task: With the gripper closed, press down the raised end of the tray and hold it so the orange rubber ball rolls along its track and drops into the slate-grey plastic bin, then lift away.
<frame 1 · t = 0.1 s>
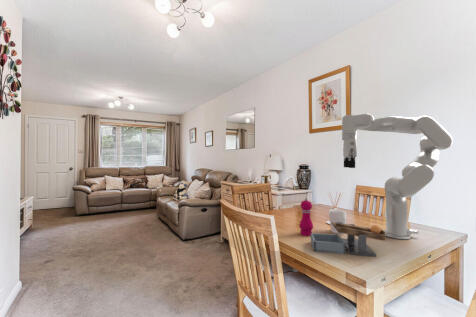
hand: (349, 167, 128), 37 cm above the table, tool pointing down, fingers open, 9 cm apart
tray: (356, 227, 106), point 9 cm above the table, hinge at -7.0°, touching ball
cup: (337, 232, 129), on the table
bin: (326, 247, 105), on the table
pepper mill: (306, 234, 125), on the table
ball: (375, 229, 101), point 10 cm above the table, tilted 14°, touching tray
stand: (356, 247, 106), on the table
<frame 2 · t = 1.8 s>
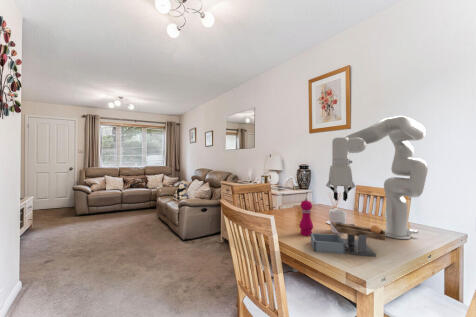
hand: (340, 200, 111), 21 cm above the table, tool pointing down, fingers open, 3 cm apart
nothing on the table moved.
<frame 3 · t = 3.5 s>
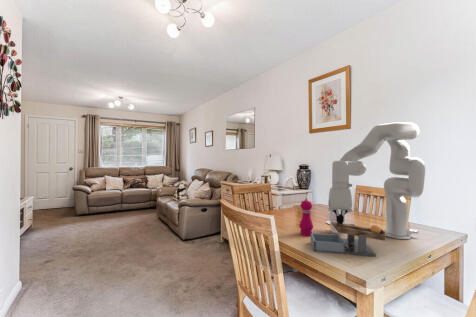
hand: (339, 223, 111), 10 cm above the table, tool pointing down, fingers closed
tray: (356, 227, 106), point 9 cm above the table, hinge at -6.6°, touching ball, gripper
everything else where it was.
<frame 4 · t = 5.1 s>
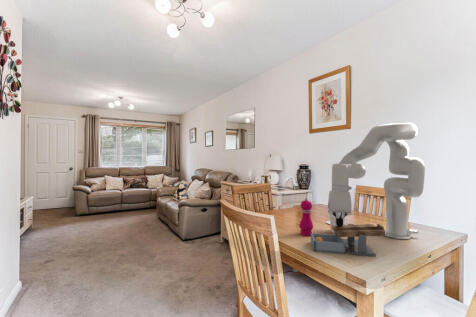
hand: (339, 226, 111), 8 cm above the table, tool pointing down, fingers closed
tray: (356, 227, 106), point 9 cm above the table, hinge at 5.6°, touching gripper
ball: (318, 241, 106), point 3 cm above the table, tilted 29°, touching bin
everything else where it was.
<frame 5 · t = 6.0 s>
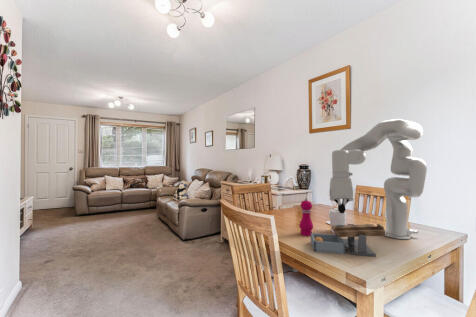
hand: (341, 212, 111), 15 cm above the table, tool pointing down, fingers closed
tray: (356, 227, 106), point 9 cm above the table, hinge at 5.6°
everything else where it was.
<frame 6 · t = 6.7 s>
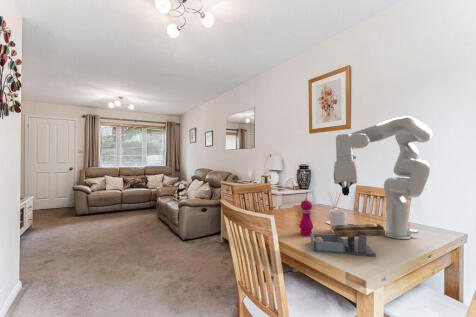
hand: (345, 195, 114), 23 cm above the table, tool pointing down, fingers closed
nothing on the table moved.
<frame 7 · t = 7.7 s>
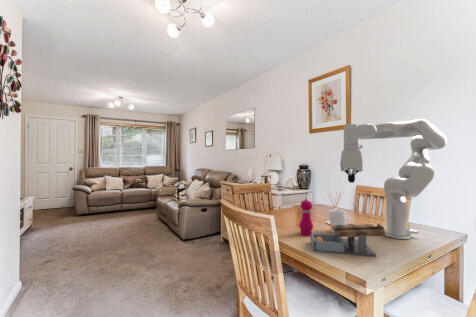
hand: (351, 182, 120), 29 cm above the table, tool pointing down, fingers closed
nothing on the table moved.
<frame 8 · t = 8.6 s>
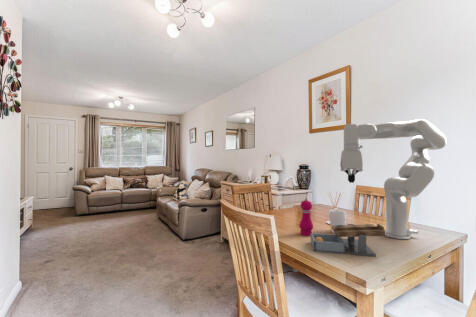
hand: (351, 182, 120), 29 cm above the table, tool pointing down, fingers closed
nothing on the table moved.
at the end: ball inside the target area on the bin (3.6 cm from its centre), point 2.8 cm above the bin's base; tray at +6° (first picture: -7°); the gripper is holding nothing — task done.
